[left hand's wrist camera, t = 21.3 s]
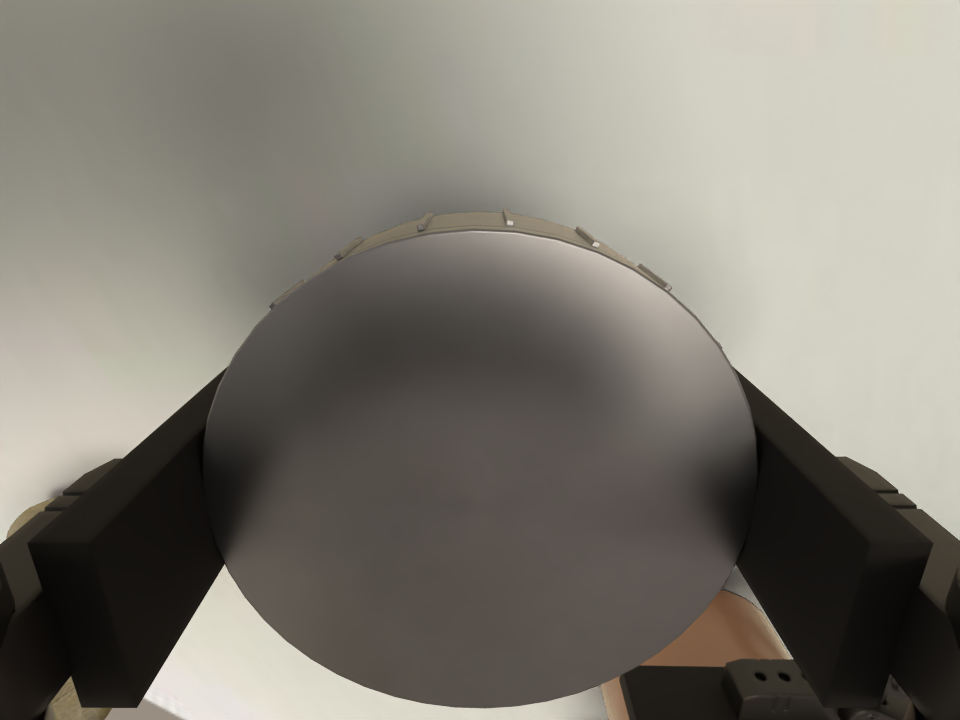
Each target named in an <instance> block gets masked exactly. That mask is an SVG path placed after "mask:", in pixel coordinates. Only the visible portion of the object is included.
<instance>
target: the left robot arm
mask: <svg viewBox="0 0 960 720" xmlns="http://www.w3.org/2000/svg"><path fill="white" fill-rule="evenodd" d="M227 368H228V367H227ZM227 368H226V369H224V370H223V371H222V372H221V373H220V374H219V375H218V376H217V377H215V378H214V379H213V380H212V381H211V382H210V383H209V384H207V385H206V386H205V387H204V388H203V389H202V390H201V391H199V392H198V393H197V394H196V395H195V396H194V397H193V398H191V399H190V400H189V401H188V402H187V403H186V404H185V405H183V406H182V407H181V408H180V409H179V410H178V411H177V412H176V413H174V414H173V415H172V416H171V417H170V418H169V419H168V420H166V421H165V422H164V423H163V424H162V425H161V426H160V427H158V428H157V429H156V430H155V431H154V432H153V433H152V434H150V435H149V436H148V437H147V438H146V439H145V440H144V441H142V442H141V443H140V444H139V445H138V446H137V447H136V448H135V449H133V450H132V451H131V452H130V453H129V454H128V455H127V456H125V457H124V458H123V459H113V460H111V461H109V462H107V463H105V464H103V465H101V466H100V467H98V468H96V469H94V470H92V471H90V472H88V473H86V474H84V475H83V476H82V477H81V478H79V479H78V480H77V481H76V482H75V483H73V484H72V485H71V486H70V487H69V488H67V489H66V490H65V491H64V492H63V496H58V497H57V498H55V499H54V500H53V501H52V502H51V503H49V504H48V505H47V506H46V507H45V510H44V511H40V512H39V513H37V514H36V515H35V516H34V517H33V518H31V519H30V520H29V521H28V522H27V523H25V524H24V525H23V526H22V527H21V528H19V529H18V530H17V531H16V532H15V533H13V534H12V535H11V536H10V537H9V538H7V539H6V540H5V541H4V542H3V543H1V544H0V720H56V718H55V713H54V710H53V707H52V705H51V701H52V700H53V699H54V697H55V696H56V695H57V693H58V692H59V691H60V690H61V688H62V687H63V686H64V684H65V683H66V682H67V680H68V679H69V678H70V677H71V678H72V681H73V684H74V687H75V690H76V693H77V696H78V699H79V702H80V705H81V708H137V707H138V705H139V704H140V702H141V700H142V699H143V697H144V695H145V694H146V692H147V690H148V689H149V687H150V685H151V684H152V682H153V681H154V679H155V677H156V676H157V674H158V672H159V671H160V669H161V667H162V666H163V664H164V663H165V661H166V659H167V658H168V656H169V654H170V653H171V651H172V649H173V648H174V646H175V644H176V643H177V641H178V640H179V638H180V636H181V635H182V633H183V631H184V630H185V628H186V626H187V625H188V623H189V622H190V620H191V618H192V617H193V615H194V613H195V612H196V610H197V608H198V607H199V605H200V603H201V602H202V600H203V599H204V597H205V595H206V594H207V592H208V590H209V589H210V587H211V585H212V584H213V582H214V581H215V579H216V577H217V576H218V574H219V572H220V571H221V569H222V567H223V566H224V564H225V563H224V561H223V559H222V557H221V554H220V552H219V550H218V548H217V546H216V544H215V540H214V537H213V534H212V529H211V525H210V520H209V516H208V510H207V505H206V500H205V494H204V489H203V483H202V449H203V443H204V437H205V431H206V425H207V419H208V416H209V413H210V410H211V406H212V403H213V400H214V397H215V394H216V391H217V388H218V386H219V384H220V382H221V380H222V378H223V376H224V374H225V372H226V370H227ZM733 369H734V370H735V372H736V374H737V376H738V378H739V381H740V383H741V386H742V388H743V391H744V393H745V396H746V399H747V401H748V404H749V406H750V410H751V415H752V419H753V424H754V428H755V433H756V437H757V449H758V464H759V477H758V485H757V491H756V497H755V503H754V508H753V513H752V518H751V522H750V527H749V532H748V536H747V539H746V541H745V544H744V546H743V549H742V551H741V554H740V556H739V558H738V561H737V563H736V565H737V567H738V568H739V570H740V572H741V573H742V575H743V577H744V578H745V580H746V582H747V583H748V585H749V586H750V588H751V590H752V591H753V593H754V595H755V596H756V598H757V600H758V601H759V603H760V605H761V606H762V608H763V609H764V611H765V613H766V614H767V616H768V618H769V619H770V621H771V623H772V624H773V626H774V627H775V629H776V631H777V632H778V634H779V636H780V637H781V639H782V641H783V642H784V644H785V646H786V647H787V649H788V650H789V652H790V654H791V655H792V657H793V659H794V660H795V662H796V664H797V665H798V667H799V668H800V670H801V672H802V673H803V675H804V677H805V678H806V680H807V682H808V683H809V685H810V687H811V688H812V690H813V691H814V693H815V695H816V696H817V698H818V700H819V701H820V703H821V705H822V706H823V708H879V706H880V703H881V700H882V697H883V694H884V691H885V688H886V685H887V682H888V679H889V676H890V674H891V675H892V677H893V678H894V679H895V681H896V682H897V683H898V684H899V686H900V687H901V688H902V690H903V691H904V692H905V693H906V695H907V696H908V697H909V699H910V702H909V705H908V707H907V710H906V713H905V716H904V719H903V720H960V541H959V540H958V539H957V538H956V537H954V536H953V535H952V534H951V533H950V532H948V531H947V530H946V529H945V528H944V527H942V526H941V525H940V524H939V523H937V522H936V521H935V520H934V519H933V518H931V517H930V516H929V515H928V514H927V513H925V512H924V511H923V510H922V509H917V507H916V504H914V503H913V502H912V501H911V500H910V499H908V498H907V497H906V496H905V495H904V494H899V493H898V490H897V489H896V488H895V487H894V486H893V485H891V484H890V483H889V482H888V481H887V480H885V479H884V478H883V477H882V476H881V475H879V474H878V473H877V472H875V471H873V470H871V469H869V468H867V467H865V466H863V465H861V464H860V463H858V462H856V461H854V460H852V459H850V458H848V457H835V456H834V455H833V454H832V453H830V452H829V451H828V450H827V449H826V448H825V447H824V446H822V445H821V444H820V443H819V442H818V441H817V440H816V439H814V438H813V437H812V436H811V435H810V434H809V433H808V432H807V431H805V430H804V429H803V428H802V427H801V426H800V425H799V424H797V423H796V422H795V421H794V420H793V419H792V418H791V417H789V416H788V415H787V414H786V413H785V412H784V411H783V410H781V409H780V408H779V407H778V406H777V405H776V404H775V403H773V402H772V401H771V400H770V399H769V398H768V397H767V396H766V395H764V394H763V393H762V392H761V391H760V390H759V389H758V388H756V387H755V386H754V385H753V384H752V383H751V382H750V381H748V380H747V379H746V378H745V377H744V376H743V375H742V374H740V373H739V372H738V371H737V370H736V369H735V368H734V367H733Z"/></svg>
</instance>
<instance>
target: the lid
mask: <svg viewBox="0 0 960 720" xmlns="http://www.w3.org/2000/svg"><path fill="white" fill-rule="evenodd" d="M334 257H335V259H334V260H332V261H331V262H330V263H328V264H327V265H326V266H324V267H323V268H322V269H320V270H319V271H318V272H316V273H315V274H314V275H313V276H311V277H310V278H309V279H307V280H306V281H304V280H302V281H300V282H299V283H298V284H296V285H295V286H294V287H292V288H291V289H290V290H288V291H287V292H286V293H284V294H283V295H282V296H281V297H279V298H278V299H277V300H275V301H274V302H273V303H272V304H271V305H270V306H269V307H270V308H271V309H272V310H271V311H270V312H269V313H268V314H267V315H266V316H265V317H264V318H263V319H262V320H261V321H260V322H259V323H258V324H257V325H256V326H255V327H254V329H253V330H252V332H251V333H250V334H249V336H248V337H247V338H246V340H245V341H244V343H243V344H242V345H241V347H240V348H239V349H238V351H237V352H236V353H235V355H234V357H233V359H232V361H231V362H230V364H229V366H228V368H227V370H226V372H225V374H224V376H223V378H222V380H221V382H220V384H219V386H218V388H217V391H216V394H215V397H214V400H213V403H212V406H211V410H210V413H209V416H208V419H207V425H206V431H205V437H204V443H203V449H202V483H203V489H204V494H205V500H206V505H207V510H208V516H209V520H210V525H211V529H212V534H213V537H214V540H215V544H216V546H217V548H218V550H219V552H220V554H221V557H222V559H223V561H224V563H225V565H226V567H227V569H228V572H229V573H230V575H231V576H232V578H233V579H234V581H235V582H236V584H237V586H238V587H239V589H240V590H241V592H242V593H243V595H244V596H245V598H246V599H247V600H248V601H249V603H250V604H251V605H252V606H253V607H254V609H255V610H256V611H257V612H258V613H259V614H260V616H261V617H262V618H263V619H264V620H265V621H266V622H267V623H268V624H269V625H270V626H271V627H272V628H273V629H274V630H275V631H276V632H277V633H279V634H280V635H281V636H282V637H283V638H284V639H285V640H286V641H287V642H289V643H290V644H291V645H293V646H294V647H295V648H297V649H298V650H299V651H301V652H302V653H303V654H305V655H306V656H308V657H309V658H310V659H312V660H313V661H315V662H317V663H319V664H320V665H322V666H324V667H325V668H327V669H329V670H331V671H332V672H334V673H336V674H338V675H340V676H342V677H344V678H346V679H349V680H351V681H353V682H355V683H358V684H360V685H362V686H364V687H367V688H370V689H373V690H376V691H379V692H382V693H385V694H388V695H391V696H394V697H398V698H403V699H407V700H411V701H416V702H420V703H425V704H433V705H441V706H449V707H461V708H497V707H513V706H521V705H527V704H534V703H540V702H546V701H550V700H554V699H558V698H562V697H565V696H569V695H573V694H577V693H579V692H582V691H585V690H587V689H590V688H593V687H596V686H598V685H601V684H604V683H606V682H608V681H610V680H612V679H614V678H616V677H618V676H620V675H622V674H624V673H626V672H628V671H630V670H632V669H634V668H636V667H637V666H639V665H640V664H642V663H643V662H645V661H647V660H648V659H650V658H651V657H653V656H654V655H656V654H658V653H659V652H660V651H662V650H663V649H664V648H665V647H667V646H668V645H669V644H670V643H671V642H673V641H674V640H675V639H676V638H678V637H679V636H680V635H681V634H683V633H684V632H685V631H686V630H687V629H688V627H689V626H690V625H691V624H692V623H693V622H694V621H695V620H696V619H697V618H698V617H699V616H700V615H701V614H702V613H703V612H704V611H705V610H706V608H707V607H708V606H709V604H710V603H711V602H712V600H713V599H714V598H715V597H716V595H717V594H718V593H719V591H720V590H721V589H722V587H723V585H724V584H725V582H726V580H727V578H728V577H729V575H730V573H731V572H732V570H733V568H734V566H735V565H736V563H737V561H738V558H739V556H740V554H741V551H742V549H743V546H744V544H745V541H746V539H747V536H748V532H749V527H750V522H751V518H752V513H753V508H754V503H755V497H756V491H757V485H758V477H759V464H758V449H757V437H756V433H755V428H754V424H753V419H752V415H751V410H750V406H749V404H748V401H747V399H746V396H745V393H744V391H743V388H742V386H741V383H740V381H739V378H738V376H737V374H736V372H735V370H734V369H733V367H732V365H731V364H730V362H729V360H728V359H727V357H726V355H725V353H724V352H723V350H722V347H721V345H720V343H719V342H717V341H716V340H715V339H714V337H713V336H712V335H711V334H710V333H709V331H708V330H707V329H706V328H705V327H704V325H703V324H702V323H701V322H700V320H699V319H698V318H697V317H696V316H695V315H694V314H693V313H692V312H691V311H690V310H689V309H688V308H687V307H685V306H684V305H683V304H682V303H681V302H680V301H679V300H678V299H677V298H675V297H674V296H673V295H672V294H671V293H670V292H669V291H670V290H671V289H672V287H671V286H670V285H668V284H667V283H666V282H665V281H663V280H662V279H660V278H659V277H658V276H656V275H655V274H654V273H652V272H651V271H650V270H648V269H647V268H646V267H644V266H643V265H642V264H639V266H638V267H637V266H636V265H634V264H633V263H632V262H630V261H629V260H627V259H626V258H624V257H623V256H621V255H620V254H618V253H617V252H615V251H614V250H612V249H611V248H609V247H608V246H606V245H605V244H603V243H601V242H599V241H597V240H596V239H595V238H593V237H592V236H591V235H590V234H589V233H587V232H586V231H585V230H584V229H582V228H580V227H577V228H576V230H574V229H571V228H568V227H564V226H561V225H558V224H555V223H552V222H549V221H546V220H543V219H538V218H532V217H527V216H521V215H515V214H511V213H510V211H509V209H503V213H491V212H466V213H455V214H444V215H437V216H433V215H432V212H430V213H426V214H425V215H424V217H423V218H422V219H420V220H415V221H411V222H407V223H404V224H401V225H399V226H396V227H393V228H391V229H388V230H386V231H383V232H380V233H378V234H375V235H373V236H371V237H369V238H368V239H366V240H364V241H363V240H362V238H361V237H359V238H357V239H356V240H354V241H353V242H352V243H350V244H349V245H348V246H346V247H345V248H344V249H342V250H341V251H340V252H338V253H337V254H336V255H335V256H334Z"/></svg>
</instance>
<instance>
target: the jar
mask: <svg viewBox="0 0 960 720" xmlns="http://www.w3.org/2000/svg"><path fill="white" fill-rule="evenodd" d="M738 659H757V660H760V659H769V660H771V659H791V658H790V656H789V655H788V653H787V651H786V650H785V648H784V646H783V645H782V643H781V641H780V640H779V638H778V636H777V635H776V633H775V631H774V630H773V628H772V626H771V625H770V623H769V621H768V620H767V618H766V617H765V616H764V614H763V613H762V612H761V611H760V610H759V609H758V608H757V607H756V606H755V605H753V604H752V603H751V602H749V601H748V600H746V599H744V598H742V597H740V596H738V595H736V594H733V593H731V592H728V591H724V590H720V591H719V593H718V594H717V595H716V597H715V598H714V599H713V600H712V602H711V603H710V604H709V606H708V607H707V608H706V610H705V611H704V612H703V613H702V614H701V615H700V616H699V617H698V618H697V619H696V620H695V621H694V622H693V623H692V624H691V625H690V626H689V627H688V629H687V630H686V631H685V632H684V633H683V634H681V635H680V636H679V637H678V638H676V639H675V640H674V641H673V642H671V643H670V644H669V645H668V646H667V647H665V648H664V649H663V650H662V651H660V652H659V653H658V654H656V655H654V656H653V657H651V658H650V659H648V660H647V661H645V662H643V663H642V664H640V665H647V666H706V667H725V665H726V663H727V662H731V661H734V660H738ZM619 678H620V676H618V677H616V678H614V679H612V680H610V681H608V682H606V683H604V684H601V688H602V693H603V697H604V702H605V706H606V711H607V715H608V719H609V720H629V716H628V712H627V708H626V705H625V701H624V697H623V693H622V689H621V685H620V682H619Z"/></svg>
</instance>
